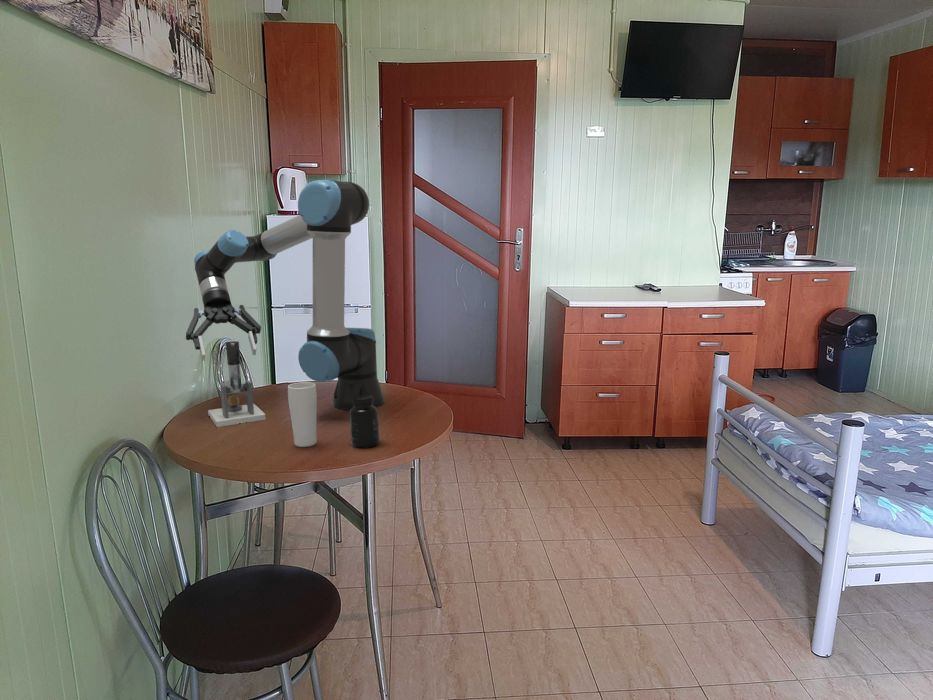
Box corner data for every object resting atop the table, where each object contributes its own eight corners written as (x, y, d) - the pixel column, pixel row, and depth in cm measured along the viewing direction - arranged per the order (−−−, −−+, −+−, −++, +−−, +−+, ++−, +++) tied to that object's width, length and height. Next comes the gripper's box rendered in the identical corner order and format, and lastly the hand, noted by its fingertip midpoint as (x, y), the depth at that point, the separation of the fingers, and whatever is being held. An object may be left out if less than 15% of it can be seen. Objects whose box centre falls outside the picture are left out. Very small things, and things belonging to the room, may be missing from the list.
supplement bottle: (370, 438, 172) (368, 391, 169) (384, 444, 166) (382, 396, 164) (346, 443, 167) (343, 396, 165) (360, 450, 162) (357, 401, 160)
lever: (221, 388, 195) (217, 339, 192) (240, 385, 197) (236, 337, 194) (227, 395, 186) (223, 344, 184) (247, 392, 189) (243, 342, 186)
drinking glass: (324, 445, 167) (320, 385, 164) (297, 450, 163) (293, 389, 160) (313, 438, 172) (309, 380, 170) (287, 443, 169) (283, 384, 166)
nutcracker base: (208, 415, 196) (205, 379, 194) (254, 408, 202) (251, 373, 200) (217, 427, 184) (213, 389, 182) (265, 419, 190) (262, 383, 188)
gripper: (257, 301, 207) (273, 357, 197) (169, 307, 196) (181, 368, 185) (260, 285, 202) (276, 342, 192) (169, 290, 190) (181, 351, 180)
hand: (229, 355), depth 189 cm, fingers open, 13 cm apart
